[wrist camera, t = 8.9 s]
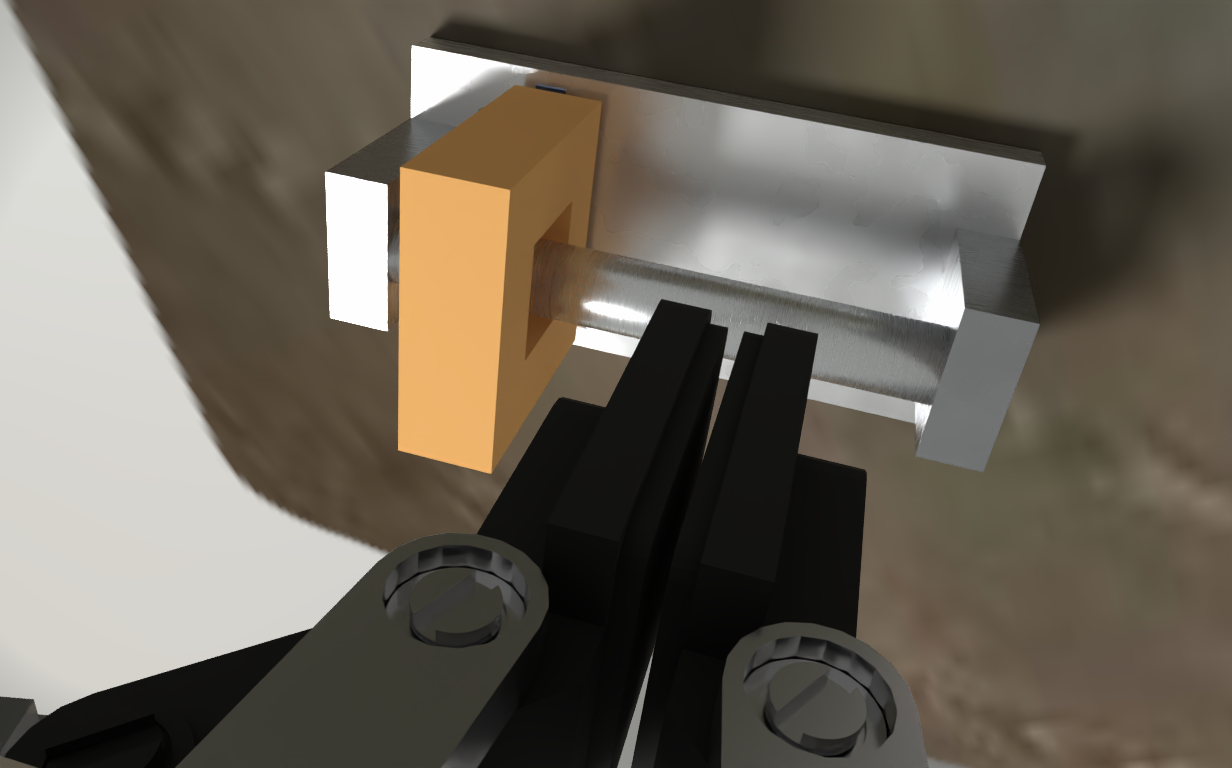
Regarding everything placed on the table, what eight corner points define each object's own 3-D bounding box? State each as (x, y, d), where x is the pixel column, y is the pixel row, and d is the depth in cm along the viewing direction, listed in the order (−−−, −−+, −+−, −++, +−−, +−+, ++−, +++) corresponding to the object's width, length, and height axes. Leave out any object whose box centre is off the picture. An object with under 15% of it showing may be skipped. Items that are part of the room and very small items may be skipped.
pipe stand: (1041, 151, 32) (1073, 240, 26) (950, 410, 38) (958, 539, 31) (429, 36, 36) (320, 90, 29) (424, 290, 41) (330, 384, 34)
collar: (601, 101, 33) (510, 190, 26) (575, 339, 38) (491, 474, 30) (515, 85, 34) (400, 166, 26) (499, 321, 38) (398, 450, 31)
